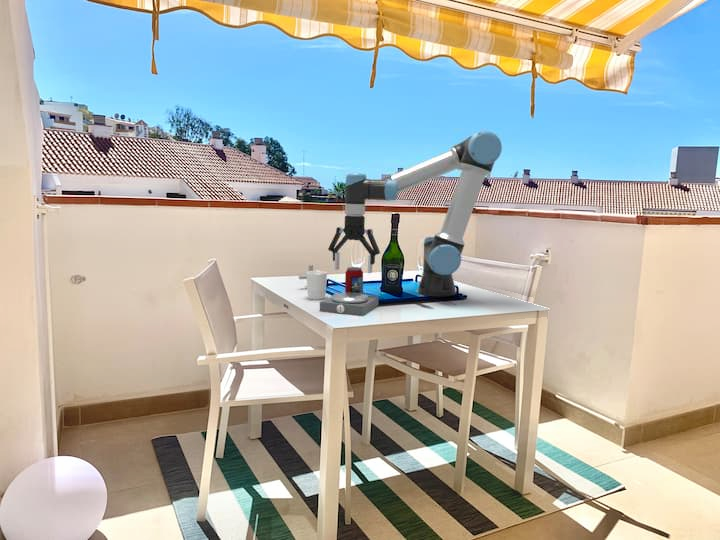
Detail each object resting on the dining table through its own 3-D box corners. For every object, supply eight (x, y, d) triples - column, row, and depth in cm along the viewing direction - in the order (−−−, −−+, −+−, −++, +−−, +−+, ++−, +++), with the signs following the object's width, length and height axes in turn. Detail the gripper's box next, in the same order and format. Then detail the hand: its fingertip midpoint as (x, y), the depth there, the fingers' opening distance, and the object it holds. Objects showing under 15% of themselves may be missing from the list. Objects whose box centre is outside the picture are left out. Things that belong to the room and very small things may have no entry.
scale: (378, 305, 181) (378, 296, 181) (362, 316, 166) (362, 306, 165) (338, 301, 187) (338, 292, 186) (318, 311, 172) (318, 301, 171)
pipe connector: (296, 287, 212) (295, 263, 210) (318, 285, 216) (318, 262, 214) (303, 291, 203) (303, 267, 201) (326, 289, 207) (326, 266, 205)
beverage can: (356, 301, 186) (357, 270, 184) (341, 299, 190) (342, 268, 188) (366, 298, 192) (366, 267, 190) (351, 296, 196) (351, 266, 194)
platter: (373, 297, 180) (373, 294, 180) (360, 304, 168) (360, 302, 168) (340, 294, 184) (340, 291, 184) (325, 301, 172) (325, 298, 172)
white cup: (315, 294, 198) (315, 270, 196) (330, 297, 193) (331, 272, 191) (302, 298, 191) (302, 272, 190) (317, 301, 187) (317, 275, 185)
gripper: (389, 216, 185) (387, 272, 188) (328, 213, 193) (327, 266, 197) (383, 217, 178) (380, 275, 181) (320, 214, 186) (319, 269, 190)
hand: (353, 271), depth 189 cm, fingers open, 13 cm apart
